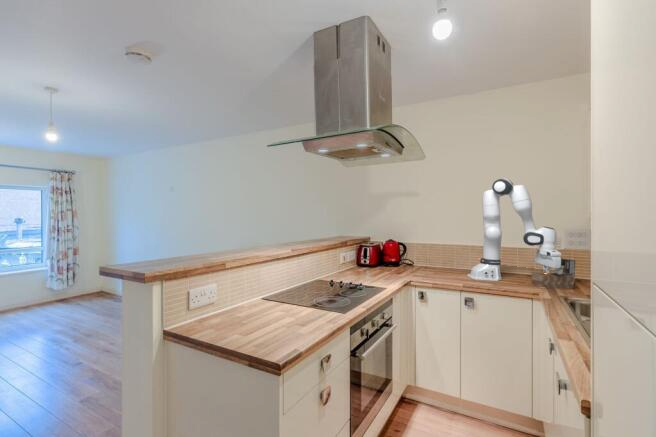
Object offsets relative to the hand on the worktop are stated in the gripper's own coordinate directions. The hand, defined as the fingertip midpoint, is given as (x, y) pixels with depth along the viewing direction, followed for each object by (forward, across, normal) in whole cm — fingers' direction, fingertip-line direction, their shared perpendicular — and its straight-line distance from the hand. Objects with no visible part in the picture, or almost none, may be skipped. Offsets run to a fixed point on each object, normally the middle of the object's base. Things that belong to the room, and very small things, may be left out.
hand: (546, 272), depth 202 cm
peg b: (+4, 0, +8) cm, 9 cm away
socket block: (+9, 0, +4) cm, 10 cm away
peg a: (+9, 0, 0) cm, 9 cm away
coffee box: (+9, -12, +21) cm, 26 cm away
